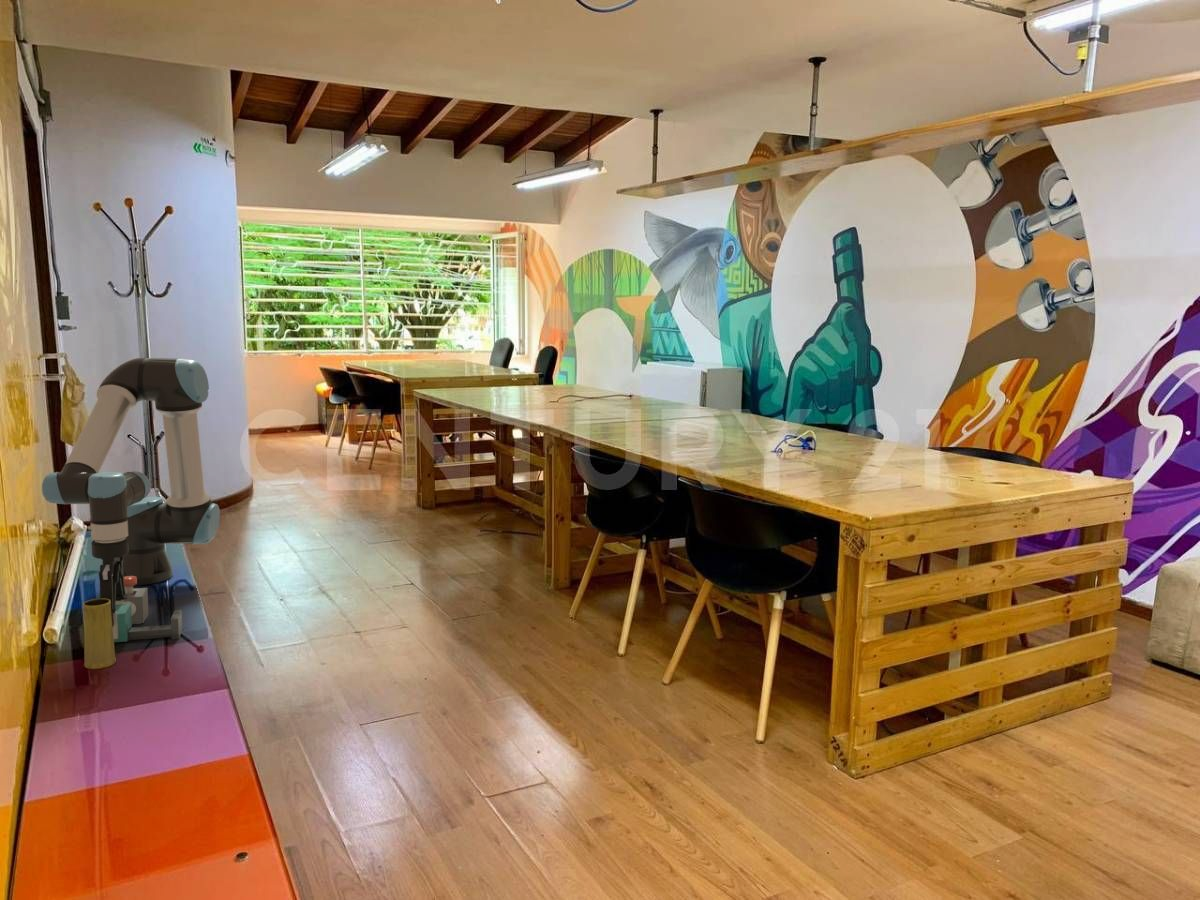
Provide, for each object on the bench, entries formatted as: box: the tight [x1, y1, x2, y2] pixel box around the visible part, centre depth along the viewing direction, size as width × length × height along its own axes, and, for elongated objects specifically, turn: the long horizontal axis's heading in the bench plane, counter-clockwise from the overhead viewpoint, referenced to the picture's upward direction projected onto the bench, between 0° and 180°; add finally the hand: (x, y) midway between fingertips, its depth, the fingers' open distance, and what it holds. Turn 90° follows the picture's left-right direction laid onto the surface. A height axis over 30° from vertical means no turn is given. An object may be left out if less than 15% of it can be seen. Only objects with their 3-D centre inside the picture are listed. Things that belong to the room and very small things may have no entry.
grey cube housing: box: [123, 587, 149, 625], centre depth 213 cm, size 7×7×7 cm
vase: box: [82, 597, 117, 670], centre depth 186 cm, size 6×6×14 cm
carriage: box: [114, 604, 133, 643], centre depth 200 cm, size 6×7×7 cm
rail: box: [127, 609, 183, 641], centre depth 202 cm, size 19×6×5 cm, turn 109°
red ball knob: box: [124, 576, 137, 595], centre depth 212 cm, size 4×4×5 cm
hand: (114, 632), depth 201 cm, fingers closed on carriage, 7 cm apart
